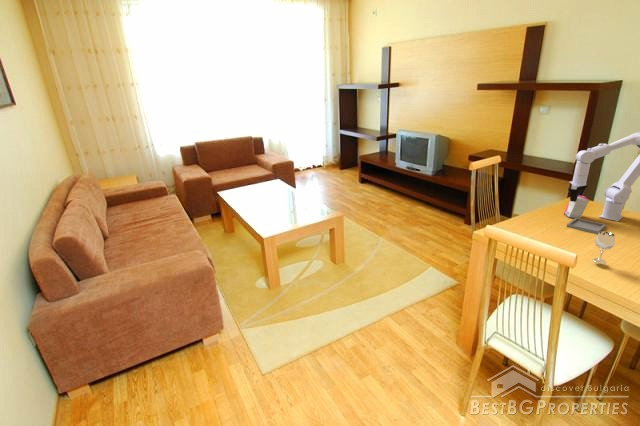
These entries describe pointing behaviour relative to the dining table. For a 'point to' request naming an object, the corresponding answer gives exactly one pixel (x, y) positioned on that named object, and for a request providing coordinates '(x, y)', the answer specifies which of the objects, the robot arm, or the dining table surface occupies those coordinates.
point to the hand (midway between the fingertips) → (575, 199)
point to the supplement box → (576, 207)
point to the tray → (586, 225)
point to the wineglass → (604, 244)
